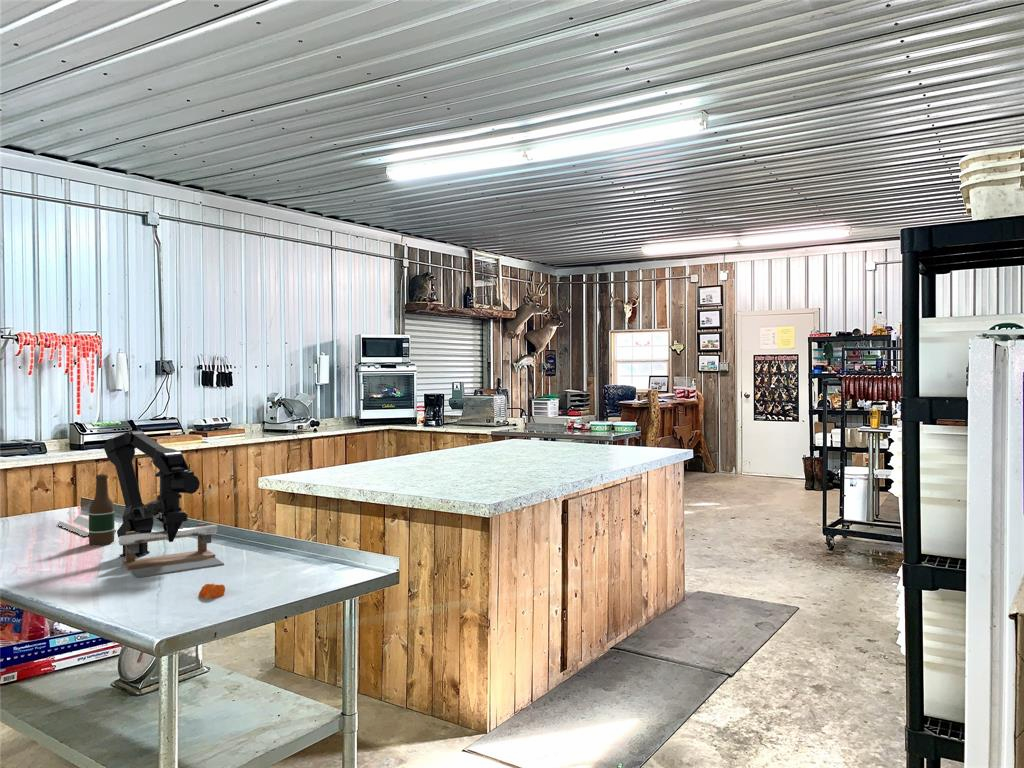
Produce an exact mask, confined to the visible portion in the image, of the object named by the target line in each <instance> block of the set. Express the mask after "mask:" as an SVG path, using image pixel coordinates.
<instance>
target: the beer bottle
mask: <svg viewBox="0 0 1024 768" xmlns="http://www.w3.org/2000/svg"><path fill="white" fill-rule="evenodd" d="M108 479H109V476H108V474H105V473H101V474H96V476H95V480H96V484H95V494H94V495H95V496H94V499H93V500H92V502H91V503H90V505H89V509H88V518H89V536H88V543H89V545H90V544H91V545H90V546H93V545H101V546H104V545H103V544H108V545H110V544H109V543H112V542H113V543H114V542H115V533H114V529H115V505H114V502H113V500H112V499H111V498H110V496H109V490H108V489H109V487H108ZM113 543H112V544H113Z"/></svg>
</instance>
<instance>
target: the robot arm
mask: <svg viewBox="0 0 1024 768" xmlns="http://www.w3.org/2000/svg"><path fill="white" fill-rule="evenodd" d="M136 449H137V450H139V451H140V452H142V453H143V454H145V455H146V456H147V457H149V458H150V459H152V465H154V466H155V467H156V468H157V470H158V472H156V474H155V477H156V478H159V494H158V495H157V497H156V500H153V501H150V502H148V503H145V504H144V503H143V500H142V495H141V493H140V488H139V485H138V480H137V476H136V472H135V467H134V464H133V460H134V457H135V455H136ZM103 450H104V452H105V455H106V459H108V461H110V463H112V464H113V465H114V467H115V470H116V473H117V478H118V482H119V485H120V490H121V494H122V497H123V501H124V507H125V509H124V511H123V514H122V523H121V525H120V526H119V527H118V529H117V530H116V531H117V533H116V535H117V537H118V539H119V536H125V535H126V532H130V531H135V534H142V533H151V532H152V531H153V526H154V522H155V521H154V518H155V517H156V520H157V521H159V523H161V525H162V527H163V531H167V534H168V540H167V541H168V542H169V543H173V542H174V541H175V539H174V538H175V536H176V534H177V532H178V530H179V529H181V526H182V524H183V522H188V517H189V516H188V514H187V513H186V512H185V511H182V506H181V504H180V503H181V499H182V494H190V495H193V494H195V493H197V491H198V490H199V489H200V484H201V483H200V480H199V478H198V476H196V475H195V473H194V471H191V470H190V467H189V465H188V463H187V461H186V459H185V457H184V455H183V453H182V452H181V451H180V450H177V449H174V448H170V447H169V448H168V447H165V446H163V445H162V444H160V443H158V442H157V441H155V440H154V439H152V438H151V437H149V436H148V435H146V434H145V432H144V431H141V430H131V431H130V430H129V431H127V432H125V433H123V434H120V435H117V436H115V437H113V438H112V437H110V438H108V439H107V440H106V442H105V443H104V446H103ZM157 515H158V517H157ZM148 543H149V542H144V543H139V553H135V558H138V557H141V556H144V555H147V554H149V553H150V550H148V549H149V547H148V546H149V545H148ZM119 557H120V558H121V557H125V558H126V545H122V553H121V554H119Z"/></svg>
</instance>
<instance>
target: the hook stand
mask: <svg viewBox="0 0 1024 768" xmlns="http://www.w3.org/2000/svg"><path fill="white" fill-rule="evenodd" d="M207 524H208V523H206V522H202V523H197V527H202V526H208V525H207ZM134 534H135V531H130V532H126V535H134ZM207 544H212V534H205V535H200V536H197V550H195V551H194V550H193V551H187V552H185V551H184V552H180V553H172V554H165V555H157V556H149V557H142V558H136V557H135V553H139V543H133V544H128V545H126V557H125V560H122V563H121V565H122V566H123V565H124V566H125V567H124V566H123V567H124V568H125V569H126V570H127V571H131V570H134V569H141V568H148V567H154V566H161V565H168V564H175V563H182V562H189V561H196V560H203V559H210V558H216V554H215V553H214V552H212V551H210V550H209V549H208V548H207V546H208V545H207Z"/></svg>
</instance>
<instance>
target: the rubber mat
mask: <svg viewBox="0 0 1024 768" xmlns="http://www.w3.org/2000/svg"><path fill="white" fill-rule="evenodd" d="M218 566H225V563H224V561H221V560H220V559H218V558H217V557H215V558H210V559H203V560H196V561H189V562H182V563H175V564H168V565H161V566H154V567H148V568H141V569H134V570H130V572H131V573H132V574H133V575H134V576H135V577H136V578H137V579H140V577H141V578H146V577H147V576H148V577H153V575H154V576H160V575H159V574H161V575H166V574H167V573H168V574H174V573H180V572H186V571H187V572H188V571H193V570H200V569H205V568H207V569H208V568H213V567H218ZM168 574H167V575H168ZM148 577H147V578H148Z"/></svg>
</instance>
